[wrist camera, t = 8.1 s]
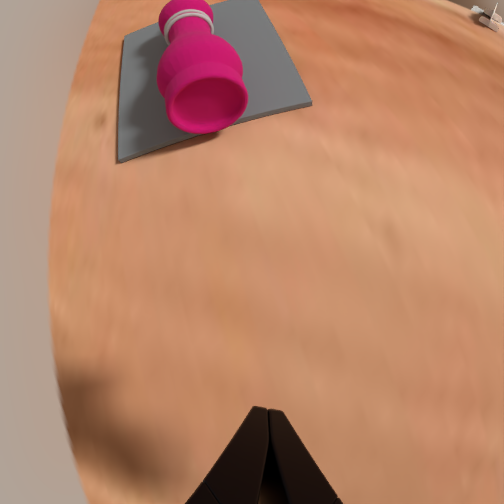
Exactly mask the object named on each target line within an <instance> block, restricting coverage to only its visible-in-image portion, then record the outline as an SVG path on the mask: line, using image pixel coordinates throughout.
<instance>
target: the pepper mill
mask: <svg viewBox="0 0 504 504" xmlns="http://www.w3.org/2000/svg"><path fill="white" fill-rule="evenodd" d="M158 24H159V28H160V31H161V33H162V34H163V35H164V37H165V40H166V42H167V44H168V45H169V46H168V47H167V48H166V50H165V51H164V53H163V55H162V57H161V59H160V61H159V64H158V68H157V86H158V89H159V91H160V93H161V95H162V96H163V97H164V98H165V106H166V113H167V117H168V119H169V121H170V122H171V123H172V124H173V125H174V126H175V127H176V128H178V129H180V130H182V131H184V132H188V133H193V134H207V133H212V132H216V131H219V130H222V129H224V128H226V127H228V126H230V125H232V124H233V123H234V122H235V121H237V120H238V119H239V118H240V117H241V116H242V114H243V113H244V111H245V109H246V107H247V104H248V93H247V89H246V87H245V84H244V82H243V80H242V76H243V66H242V62H241V59H240V57H239V55H238V54H237V52H236V51H235V49H234V48H233V47H232V46H231V45H230V44H229V43H228V42H227V41H225V40H224V39H223V38H221V37H219V36H216V35H213V33H214V27H213V12H212V9H211V7H210V6H209V5H208V4H207V3H206V2H205V1H204V0H171V1H170V2H169V3H167V4H166V5H165V6H164V8H163V9H162V11H161V13H160V15H159V23H158Z"/></svg>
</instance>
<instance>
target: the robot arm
mask: <svg viewBox="0 0 504 504" xmlns="http://www.w3.org/2000/svg"><path fill="white" fill-rule="evenodd" d="M337 497H338V496H337V494H336V493H335V491H334V490H333V488H332V487H331V485H330V484H329V482H328V481H327V479H326V478H325V476H324V475H323V473H322V472H321V470H320V469H319V467H318V466H317V464H316V463H315V461H314V460H313V458H312V457H311V455H310V453H309V452H308V450H307V449H306V447H305V446H304V444H303V443H302V441H301V439H300V438H299V436H298V435H297V433H296V432H295V430H294V428H293V427H292V425H291V424H290V422H289V420H288V419H287V417H286V416H285V414H284V412H283V411H281V410H275V409H268V410H267V408H264V407H258V406H253V407H252V408H251V410H250V412H249V413H248V415H247V416H246V418H245V419H244V421H243V423H242V424H241V426H240V427H239V429H238V430H237V432H236V433H235V435H234V436H233V438H232V439H231V441H230V442H229V444H228V445H227V447H226V448H225V450H224V451H223V453H222V454H221V455H220V457H219V458H218V460H217V461H216V463H215V464H214V466H213V467H212V468H211V470H210V471H209V473H208V474H207V475H206V477H205V478H204V480H203V482H201V483H200V485H199V486H198V488H197V489H196V490H195V492H194V493H193V494H192V495H191V497H190V498H189V499H188V500H187V502H186V503H185V504H343V503H342V501H341V500H340V498H337Z"/></svg>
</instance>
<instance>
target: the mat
mask: <svg viewBox="0 0 504 504" xmlns="http://www.w3.org/2000/svg"><path fill="white" fill-rule="evenodd" d="M209 6H210V7H211V9H212V12H213V27H214V33H213V35H216V36H219V37H221V38H223V39H224V40H225V41H227V42H228V43H229V44H230V45H231V46H232V47H233V48H234V49H235V51H236V52H237V54H238V55H239V57H240V59H241V62H242V66H243V76H242V80H243V82H244V84H245V87H246V89H247V93H248V104H247V107H246V109H245V111H244V113H243V114H242V116H241V117H240V118H239V119H238V120H237V121H235V122H234V123H233V124H232V125H235V124H238V123H242V122H246V121H249V120H253V119H257V118H261V117H265V116H269V115H273V114H277V113H281V112H285V111H290V110H294V109H299V108H303V107H308V106H312V100H311V98H310V96H309V94H308V92H307V89H306V87H305V85H304V83H303V81H302V79H301V77H300V75H299V73H298V71H297V69H296V67H295V65H294V63H293V61H292V60H291V58H290V56H289V54H288V52H287V50H286V48H285V46H284V44H283V43H282V41H281V39H280V37H279V35H278V33H277V32H276V30H275V28H274V26H273V25H272V23H271V21H270V19H269V18H268V16H267V14H266V12H265V11H264V9H263V7H262V6H261V4H260V2H259V1H258V0H228V1H224V2H220V3H216V4H213V5H209ZM158 23H159V22H157V23H155V24H152V25H150V26H147V27H145V28H142V29H140V30H137V31H135V32H133V33H130V34H128V35H126V36H125V38H124V47H123V57H122V68H121V81H120V98H119V123H118V160H119V161H120V162H121V163H123V162H125V161H128V160H130V159H133V158H135V157H138V156H141V155H143V154H146V153H149V152H151V151H154V150H157V149H160V148H163V147H165V146H168V145H171V144H174V143H177V142H180V141H183V140H186V139H189V138H192V137H195V136H198V135H201V134H193V133H188V132H184V131H182V130H180V129H178V128H176V127H175V126H174V125H173V124H172V123H171V122H170V121H169V119H168V117H167V113H166V106H165V98H164V97H163V96H162V95H161V93H160V91H159V89H158V86H157V68H158V64H159V61H160V59H161V57H162V55H163V53H164V51H165V50H166V48H167V47H168V46H169V45H168V44H167V42H166V40H165V37H164V35H163V34H162V33H161V31H160V28H159V24H158ZM230 126H231V125H230Z"/></svg>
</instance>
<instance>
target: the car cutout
mask: <svg viewBox="0 0 504 504" xmlns="http://www.w3.org/2000/svg"><path fill="white" fill-rule="evenodd" d="M496 7H497V5H496ZM496 7H495V9H494V12H493V11H492V10H490V9H488V8H486V9H485V10H482V9H480V8H479V7H477V6H475V5H474V6H473V8H472V9H471V10H472V11H474V12H477V13H479V14H481V15H483V16H481V17H480V18H479V21H480V22H481V23H483V24H485V25H486V26H488V27H489V28H491V29H493V30H494V31H496V32H497V31H498V29H499V28H498V26H497V24H495V23H494V22H492V21H491V20H493V21H495V22H497V23H499V24H501V25H503V26H504V23H503V22H501V21H502V18H501V16H499V15H498V14H496V13H495V10H496ZM484 16H485V17H484ZM486 17H487V18H489V19H490V20H489V19H487V18H486Z"/></svg>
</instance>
